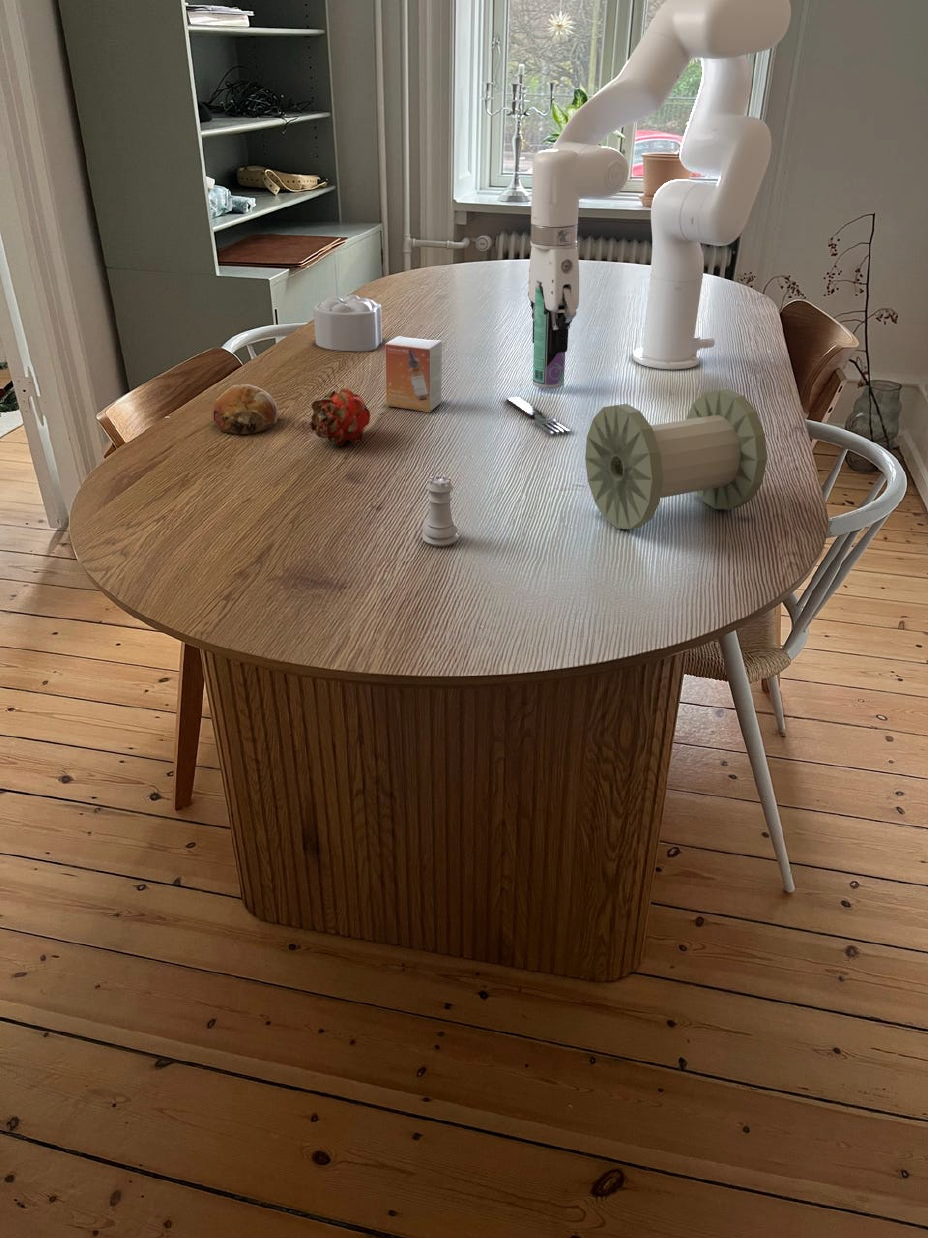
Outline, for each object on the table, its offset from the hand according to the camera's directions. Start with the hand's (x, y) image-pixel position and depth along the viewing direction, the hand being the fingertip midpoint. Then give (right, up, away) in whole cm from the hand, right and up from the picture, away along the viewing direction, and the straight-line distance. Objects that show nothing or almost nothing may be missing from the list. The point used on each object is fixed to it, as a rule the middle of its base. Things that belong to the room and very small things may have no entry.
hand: (549, 346), depth 161 cm
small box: (-23, -11, -4) cm, 26 cm away
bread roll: (-49, -16, -13) cm, 53 cm away
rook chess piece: (-18, -37, -46) cm, 62 cm away
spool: (+11, -33, -39) cm, 53 cm away
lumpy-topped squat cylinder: (-38, +8, +28) cm, 48 cm away
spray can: (0, -6, +4) cm, 7 cm away
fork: (-3, -14, -9) cm, 17 cm away
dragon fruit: (-33, -20, -18) cm, 43 cm away
